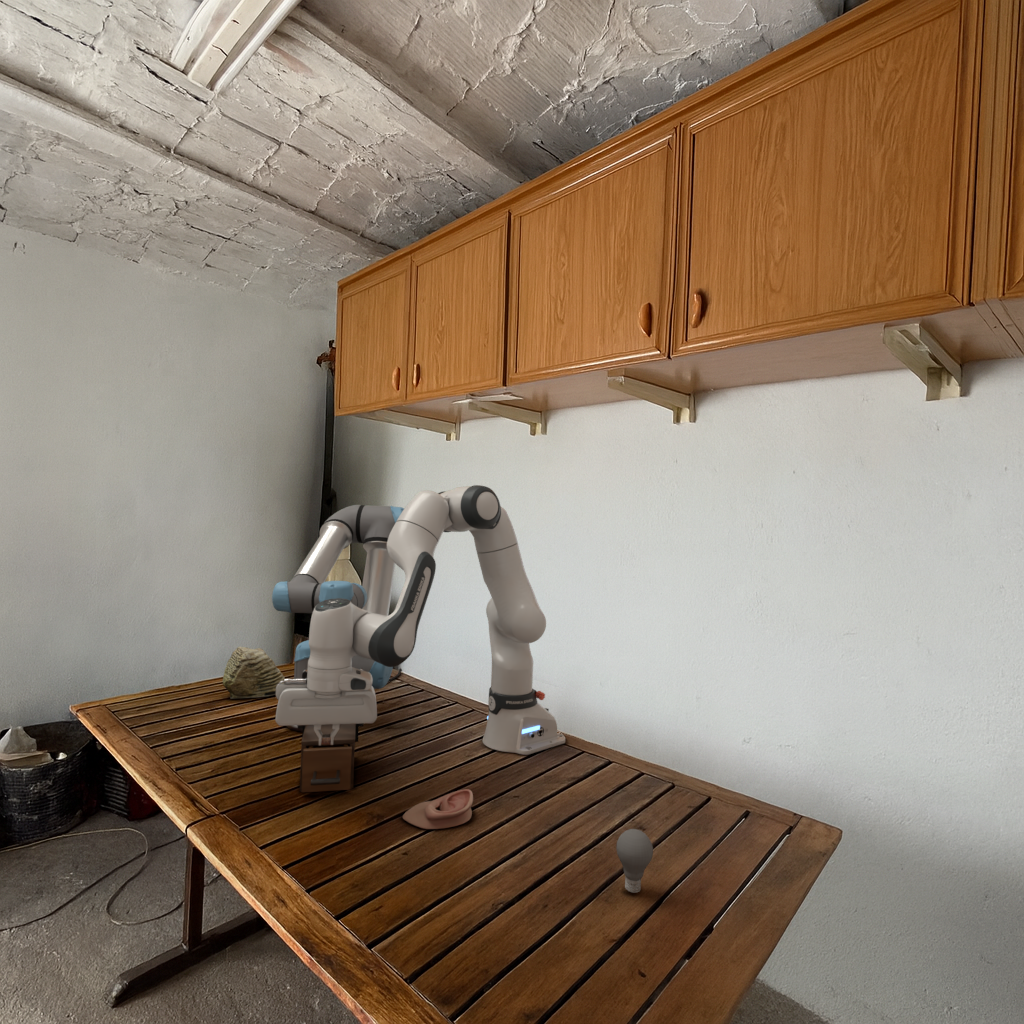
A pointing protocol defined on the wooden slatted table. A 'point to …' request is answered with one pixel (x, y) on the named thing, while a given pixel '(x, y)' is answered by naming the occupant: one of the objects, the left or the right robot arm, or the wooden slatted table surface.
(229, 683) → the fossil
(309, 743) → the cabinet
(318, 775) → the drawer
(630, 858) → the light bulb
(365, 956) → the wooden slatted table surface
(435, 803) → the anatomical model
